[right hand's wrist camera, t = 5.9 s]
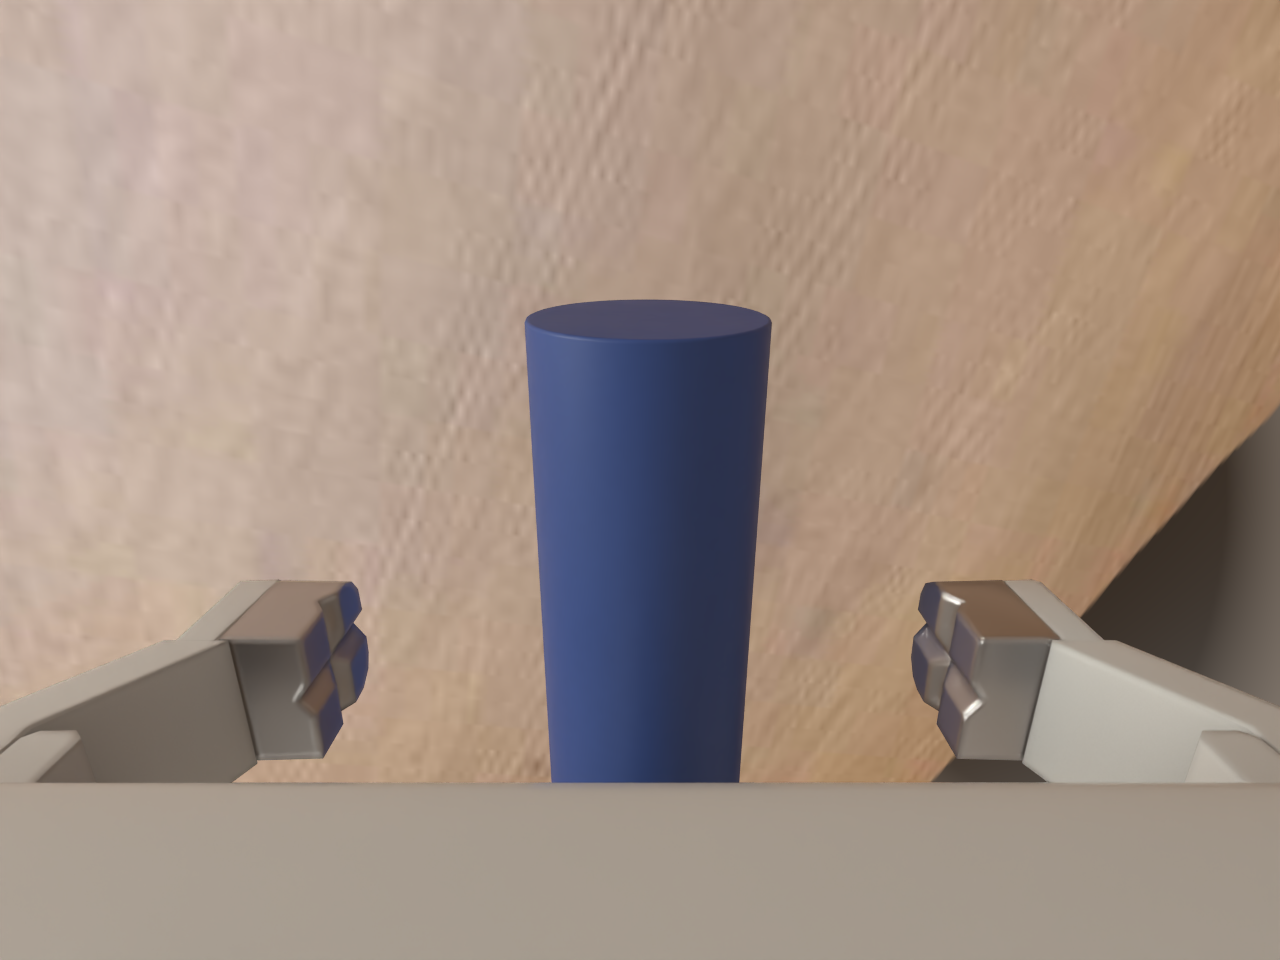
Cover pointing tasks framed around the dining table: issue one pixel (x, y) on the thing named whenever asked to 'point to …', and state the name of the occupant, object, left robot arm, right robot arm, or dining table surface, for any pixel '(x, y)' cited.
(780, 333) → the dining table surface
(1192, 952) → the right robot arm
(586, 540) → the cylinder
